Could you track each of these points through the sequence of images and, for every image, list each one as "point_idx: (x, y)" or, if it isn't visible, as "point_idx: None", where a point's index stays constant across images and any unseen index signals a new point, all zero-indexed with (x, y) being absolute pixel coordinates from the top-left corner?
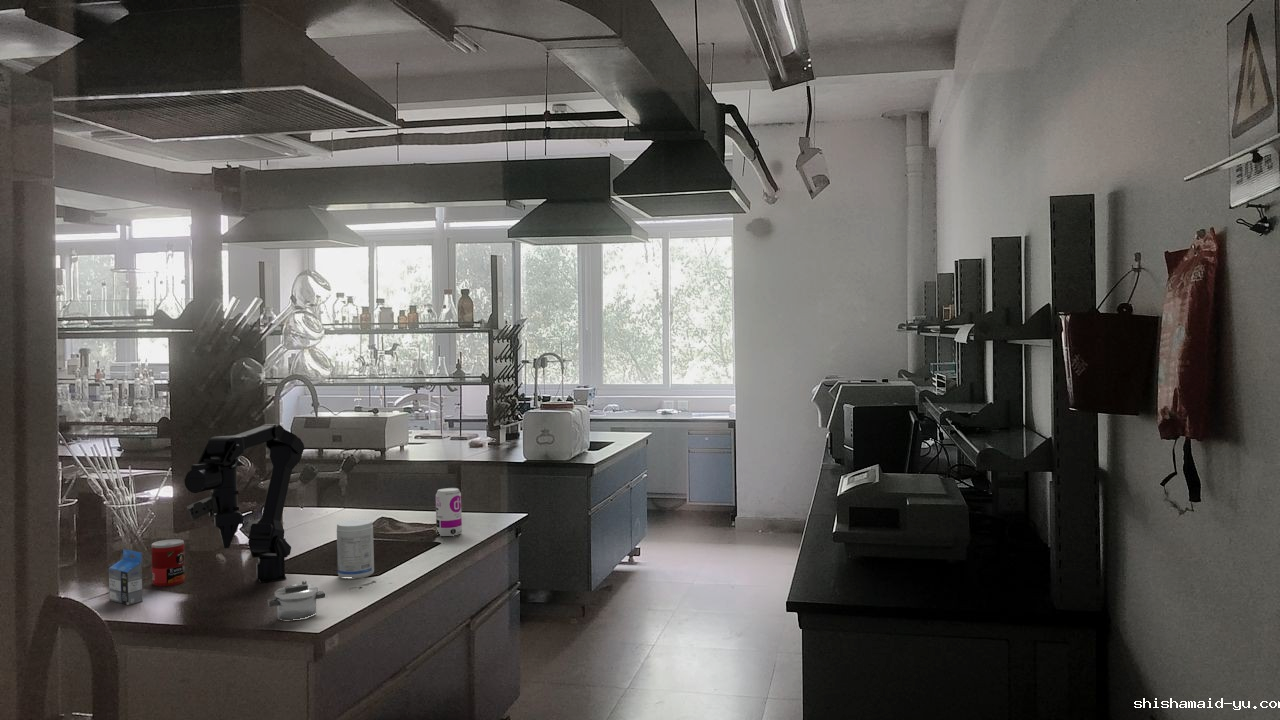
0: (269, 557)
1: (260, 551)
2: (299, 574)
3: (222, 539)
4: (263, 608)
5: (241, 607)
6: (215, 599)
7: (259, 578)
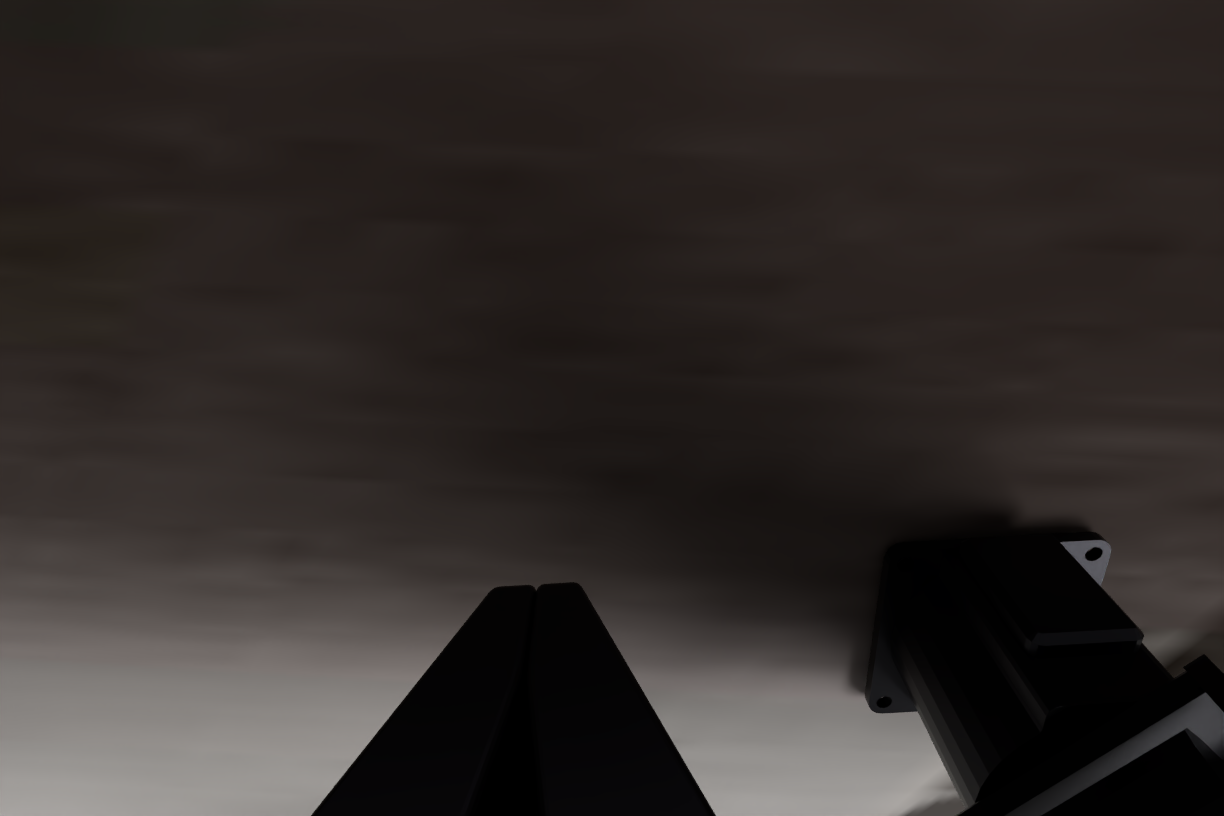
0: (1003, 789)
1: (1065, 802)
2: None
3: (339, 783)
4: (20, 512)
5: (117, 357)
6: (554, 140)
7: (962, 555)
